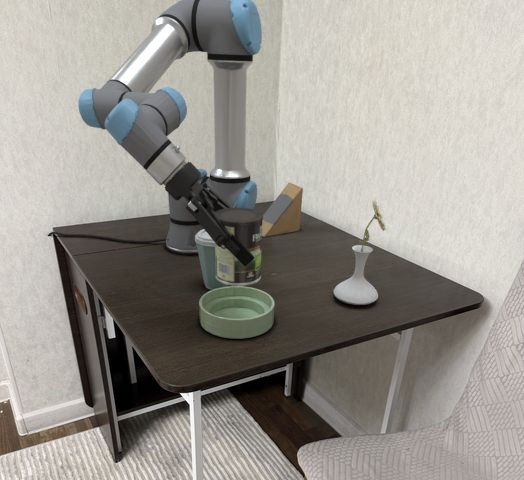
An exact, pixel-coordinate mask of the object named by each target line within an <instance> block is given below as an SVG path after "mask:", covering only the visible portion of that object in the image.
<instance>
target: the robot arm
mask: <svg viewBox="0 0 524 480" xmlns="http://www.w3.org/2000/svg"><path fill="white" fill-rule="evenodd" d="M150 29H151V31H150V33H149V34H148V35H147V36H146V38H145V39H144V40H143V41H142V42H141V43H140V44H139V45H138V46H137V47H136V49H135V50H134V51H133V52H131V55H130V56H128V58H127V59H126V60H125V61H124V62H123V63H122V64H121V65H120V67H118V69H117V70H116V71H115V72H114V73H113V74H112V76H110V77H109V78H108V80H107V81H106V82H105V83H104V84H103V85H102V86H101V87H100V88H96V87H93V88H87V89H84V90H83V91H82V92H81V93H80V94H79V98H78V113H79V114H80V117H81V119H82V121H83V122H84V123H85V125H87V126H88V127H90V128H96V129H101V130H106V131H107V133H108V134H109V135H110V136H111V137H112V138H113V140H114V141H115V142H116V143H117V145H119V146H121V147H122V148H123V150H124V151H125V152H127V153H128V154H129V155H130V156H131V157H132V158H133V159H134V160H135V161H136V162H137V163H138V164H139V165H140V166H141V167H142V168H143V169H144V170H145V172H146V173H147V174H149V175H150V177H151V178H152V179H153V180H154V181H155V182H156V183H157V184H158V185H159V186H164V190H165V191H166V192H167V197H168V209H169V223H170V224H169V227H168V232H167V235H166V237H165V238H157V239H150V240H133V239H123V238H116V237H112V236H104V235H96V234H85V233H64V232H59V231H50V232H49V233H48V234H47V237H51V236H52V235H58V236H63V237H84V238H86V237H87V238H97V239H104V240H111V241H115V242H122V243H132V244H152V243H159V242H165V247H166V250H168V251H169V252H171V253H173V254H177V255H183V256H195V255H199V254H198V249H197V244H196V241H195V235H196V234H197V233H198V232H199V231H201V230H203V229H204V230H205V231H206V232H207V233H208V234H209V236H210V237H211V238H212V239H213V241H214V242H215V243H216V244H217V246H218V247H221V246H222V245H224V246H225V247H226V248H227V249H228V250H229V251H230V252H231V253H232V254H233V255H234V256H235V257H236V258H237V259H238V260H239V261H240V262H241V263H242V264H243V265H244V266H246V265H248V264H249V263H250V262H251V261H252V260H253V259H254V258H255V257H254V256H253V255H252V254H251V253H250V252H249V251H248V250H247V249H246V248H245V247H244V246H243V245H242V244H241V243H240V242H239V240H238V239H237V238H236V237H235V236H234V235H233V234H232V235H230V234H229V232H228V231H227V229H226V228H225V226H224V225H223V224H222V222H221V221H220V219H219V218H218V216H217V215H216V213H215V212H216V211H218V210H221V209H225V208H249V209H254V210H255V206H256V203H257V198H258V186H257V183H256V182H255V181H253V180H251V172H250V171H249V169H248V168H247V167H246V148H247V147H246V146H247V144H246V143H247V86H248V85H247V84H248V82H247V81H248V77H247V76H248V69H249V68H250V67H251V65H252V64H254V56H255V55H257V54H259V52H260V51H261V47H262V45H261V44H262V42H263V41H262V40H263V34H262V33H263V31H262V23H261V18H260V13H259V11H258V7H257V5H256V4H255V2H254V1H253V0H179V1H178V2H176V3H174V4H172V5H171V6H170V7H168V8H167V9H165V10H164V11H163V12H161V14H160V15H159V16H158V17H157V18H156V19H155V21H154V22H153V23H152V25H151V28H150ZM194 52H195V53H197V52H201V53H206V60H207V62H208V64H209V65H210V66H211V67H212V69H213V71H212V72H213V123H214V124H213V126H214V127H213V128H214V130H213V133H214V167H213V168H212V169H211V170H210V171H209V176H208V171H207V170H206V169H204V168H197V167H196V166H195V165H194V163H192V162H191V161H187V157H186V155H184V154H183V153H182V151H180V150H181V147H180V146H179V145H177V144H176V145H175V144H174V143H173V142H172V141H171V140H170V139H169V137H168V136H169V135H171V134H172V133H173V132H174V131H175V130H177V129H178V128H179V127H180V125H181V124H182V123H183V122H184V121H185V119H186V117H187V114H188V106H187V103H186V100H185V97H183V95H182V94H181V92H180V91H178V89H175V88H173V87H170V86H165V87H161V88H159V89H157V90H156V91H155V92H151V90H152V89H153V88H154V86H156V84H157V83H158V82H159V81H160V79H161V78H162V77H163V75H164V74H165V73H166V72H167V71H168V69H169V68H170V67H171V66H172V64H173V63H174V62H175V61H177V60H180V59H182V58H184V57H185V56H186V54H188V53H194ZM186 161H187V162H186Z"/></svg>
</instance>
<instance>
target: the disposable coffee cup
mask: <svg viewBox="0 0 524 480" xmlns="http://www.w3.org/2000/svg"><path fill="white" fill-rule="evenodd" d="M195 241H196V244H197V249H198V254H197V255H198V258H199V264H200V268H201V269H200V270H201V274H202V279H203V285H204V286H205V288H206V289H208V290H209V291H211V290H214V289H217V288H221V287H229V285H226V284H223V283H221V282H219V281H218V280H217V279H216V258H215V242H214V241H213V239H212V238H211V237H210V236H209V234H208V233H207V232H206V231H205V230H204V229H203V230H201V231H199V232H198V233H197V234H196V235H195Z"/></svg>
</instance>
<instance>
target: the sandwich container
mask: <svg viewBox="0 0 524 480" xmlns="http://www.w3.org/2000/svg"><path fill="white" fill-rule="evenodd" d="M303 193H304V188H303V187H302V186H299V185H297V184H295V183H292V182H289V181H288V183H287V184H286V185H285V187H284V188H283V189H282V191H281V192H280V193H279V195H278V196H277V197H276V199H275V200H274V201H273V202H272V204H270V206H269V207H268V208H267V209H266V211H265V212H264V213H263V220H262V238H263V237H264V238H265V237H271V236H277V235H282V234H288V233H293V232H299V231H300V228H301V216H302V204H303Z"/></svg>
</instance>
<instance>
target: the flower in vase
mask: <svg viewBox="0 0 524 480" xmlns="http://www.w3.org/2000/svg"><path fill="white" fill-rule="evenodd" d="M371 204H372V208H373V211H374V215H373V217H372V218H371V219H370V221H369V222H368V224H367V225H366V226H365V227H366V228H365V229H364V233H363V238H362V239H361V240H359V241H358V243H361V244H356V245H353V246H352V247H351V250H352V251H353V254H354V256H355V258H354V259H355V264H354V266H355V267H354V272H353V274H352V275H351V277H349V278H347V279H345V280H343V281H341V282H340V283H338V284H337V285H336V286H335V287H334V289H333V295H334V296H335V298H336V299H337V300H338V301H341V302H342V303H344V304H348V305H353V306H366V305H370V304H373V303H375V302H376V301H377V300H378V298H379V293H378V291H377V289H376V288H375V287H374V286H373V285H372V284H371V282H369V281H368V280H367V279H366V278H365V275H364V273H365V272H364V271H365V265H366V263H367V259H368V258H369V256H370V254H371V253H373V251H374V249H373V248H372V247H371V246H368V245H365V243H366V242H368V241H370V237H371V236H370V231H369V230H368V228H369V227H370V225H371V224H372V222H373V221H374V220H376V221H377V223H378V225H379V227H380V229H381V231H383V232H384V231H387V228H386V223H385V222H384V221H383V218H384V217H383V214H382V213H381V212H380V207H379V205H378V204H377V200H376V199H372V201H371Z"/></svg>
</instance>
